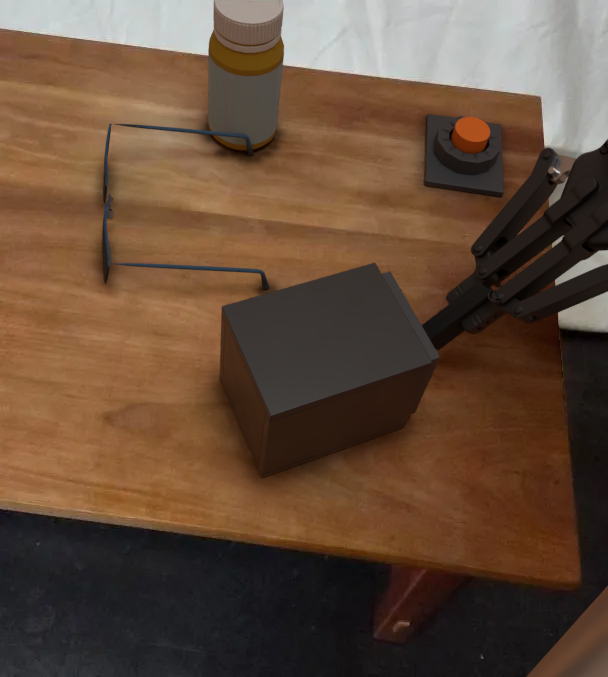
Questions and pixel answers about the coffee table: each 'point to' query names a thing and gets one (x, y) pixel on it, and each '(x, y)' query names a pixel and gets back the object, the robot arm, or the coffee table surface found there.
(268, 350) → the dark grey drawer box
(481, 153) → the block
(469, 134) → the button
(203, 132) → the sunglasses
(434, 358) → the pulled-out drawer
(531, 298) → the robot arm
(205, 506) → the coffee table surface
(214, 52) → the bottle
